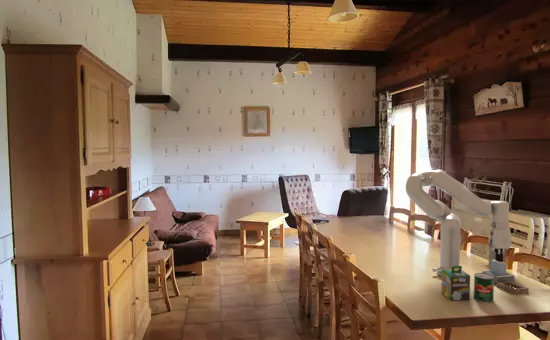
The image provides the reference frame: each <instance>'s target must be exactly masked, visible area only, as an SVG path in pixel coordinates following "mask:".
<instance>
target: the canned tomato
mask: <svg viewBox="0 0 550 340" xmlns="http://www.w3.org/2000/svg"><path fill="white" fill-rule="evenodd" d="M473 280H474V283H473V299H474V300H475V301H477V302H480V303H484V304H485V303H486V304H490V303H493V302H494V293H495V292H494V290H495V289H494V288H495V284H494V276H493V275H490V274H486V273H482V272H475V273H474V279H473Z"/></svg>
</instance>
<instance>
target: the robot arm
mask: <svg viewBox="0 0 550 340" xmlns="http://www.w3.org/2000/svg"><path fill="white" fill-rule="evenodd" d="M431 186H432V187H433V186H435V187H436V188H438V189H439V190H441V191H442V192H444V193H445V194H447V195H448V196H450V197H452V198H453V199H454V200H456V201H457V202H458V203H460V204H461V205H463V206H464V207H465V208H467V209H468V210H470V211H472V213H474V214H476V215H477V216H480V217H487V216H489V215H491V223H490V229H489V230H490V234H489V233H488V247H489V246H490V250H493V251H494V252H495V253H496V254H495V260H496V261H499V262H503V254H504V252H505V253H506V250H510V248H511V247H512V233H511V228H510V227H509V225H510V224H509V221H510V219H509V217H510V204H509V202H508V201H504V200H492V199H491V200H489V199H483V198H482V197H481V198H480V197H479V196H478V195H476V194H474V193H473V192H472V190H471V191H470V189H468V187H467V186H466V185H465V184H463V183H462V182H460V181H459V180H457V179H455V178H454V177H452V176H451V175H449V174H448V173H447V172H446V171H445V170H443V169H435V170H434V169H433V170H426V171H420V172H418V171H417V172H415V173H413V174H411V175H410V176H409V177H408V178H407V180H406V183H405V191H406V194H407V197H408V198H409V200H411V201H412V203H414V204H415V205H416V206H417V207H418V208H419V209H420V210H421V211H422V212H423V213H425V215H426V216H428V218H430V219H432V220H436V221H438V223H440V228H439V229H440V243H439V245H440V247H439V248H440V252H439V255H440V256H439V259H440V260H439V264H438V266H437V267H433V268H431V270H432V272H433V273H434V272H436V274H437V275H438V276H440V277H442V270H451V269H452V266H461V265H460V259H461V256H460V255H461V226H462V221H461V218H460V217H459V216H458V215H457V214H456V213H455V212H454V210H452V209H451V208H450V207H449V206H447V205H446V204H445V203H444V202H442V201H441V200H439V199H434V198H433V197H431V195H430V194H429V193H427V192H426V191H425V190H424V189H423V188H424V187H431ZM455 269H459V268H455Z"/></svg>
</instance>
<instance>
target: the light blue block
mask: <svg viewBox="0 0 550 340" xmlns="http://www.w3.org/2000/svg"><path fill="white" fill-rule="evenodd" d="M491 273H493V274H496V275H498V276H506V273H507V263H506V261H505V262H499V261H496V260H491Z"/></svg>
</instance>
